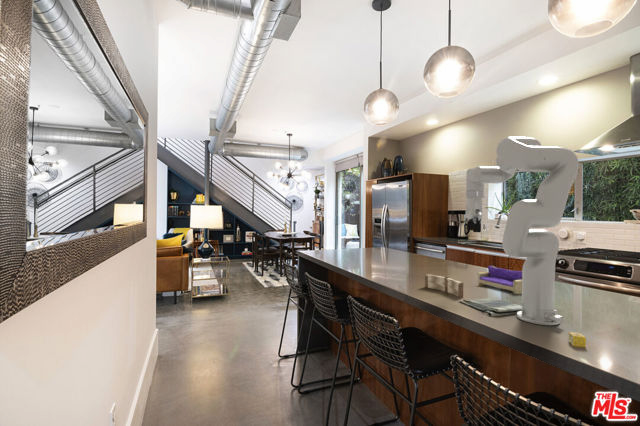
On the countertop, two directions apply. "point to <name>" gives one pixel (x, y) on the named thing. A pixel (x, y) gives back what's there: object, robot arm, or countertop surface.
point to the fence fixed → (454, 287)
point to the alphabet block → (577, 339)
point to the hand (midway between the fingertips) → (473, 231)
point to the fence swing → (435, 282)
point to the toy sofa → (501, 279)
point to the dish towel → (493, 306)
